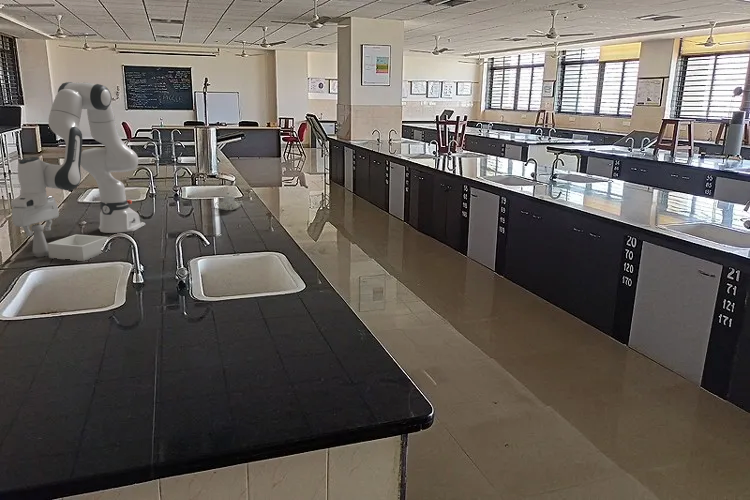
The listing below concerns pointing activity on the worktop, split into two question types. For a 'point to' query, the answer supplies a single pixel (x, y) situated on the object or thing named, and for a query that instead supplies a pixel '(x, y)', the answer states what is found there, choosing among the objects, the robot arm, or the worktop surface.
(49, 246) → the box
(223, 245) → the worktop surface
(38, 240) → the salt shaker
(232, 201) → the skeletal model
